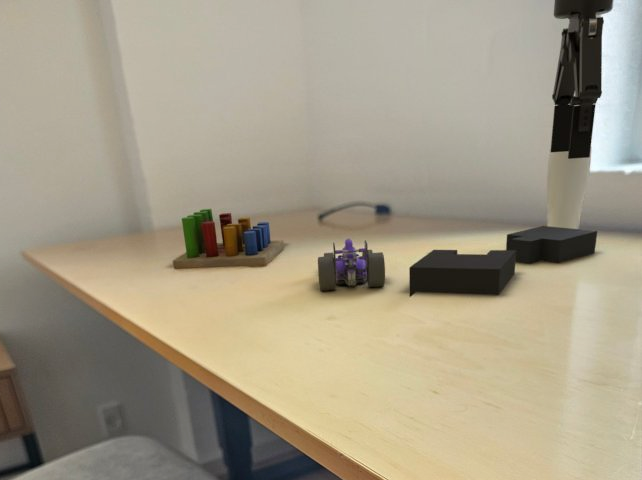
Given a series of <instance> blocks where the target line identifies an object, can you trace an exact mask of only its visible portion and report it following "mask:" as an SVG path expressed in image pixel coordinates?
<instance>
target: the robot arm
mask: <svg viewBox="0 0 642 480" xmlns="http://www.w3.org/2000/svg"><path fill="white" fill-rule="evenodd" d="M614 5H615V0H554V6H553V17H554V18H555V19H558V20H565V19H568V20H569V21H568V22H569V23H568V27H566V28H562V31H561V41H560V49H559V50H560V51H559V55H558V60H557V61H558V62H557V66H556V67H557V68H556V73H555V78H554V79H555V80H554V85H553V92H552V95H551V98H552V99H551V100H552V101H553V104H554V107H553V108H554V109H553V117H552V118H553V121H552V131H551V141H550V149H551V152H565V151H569V152H568V159H574V158H589V157H590V149H591V150H592V148H591V147H592V141H593V140H592V139H593V131H594V122H595V113H596V104H597V102H598V99H601V97H602V95H603V90H602V85H603V84H602V77H603V76H602V74H603V71H602V70H603V69H602V68H603V67H602V66H603V65H602V64H603V62H602V61H603V29H604V24H605V23H604V22H605V20H604V17H603V16H601V15H605V14H608V13H610V12H611V11H613V9H614ZM599 15H600V16H599ZM598 16H599V17H598Z"/></svg>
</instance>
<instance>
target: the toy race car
mask: <svg viewBox="0 0 642 480" xmlns="http://www.w3.org/2000/svg"><path fill="white" fill-rule="evenodd" d="M353 243H354V242H353V240H352V239H351V238H346V239H345V241H344V247H342V249H337V250H336V244H335V242H333V243H332V248H333V249H332V250H333V252H324V253H323V256H318V257H317V271H318V284H319V291H320V292H324V291H325V292H327V291H335V290H336V288H337V285H346V286H347V287H355V286H357V285H358V284H363V283H365V282H367V283H366V284H367V287H368V288H378V287H379V288H380V287H385V284H386V262H385V255H384V253H383V252H382V251H381V252H373V249H368V247H369V246H368V242H367V240H364V248H358V249H356V247H355V246H354V244H353ZM359 253H361V255H360V254H359ZM336 255H337V257H336Z"/></svg>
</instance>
